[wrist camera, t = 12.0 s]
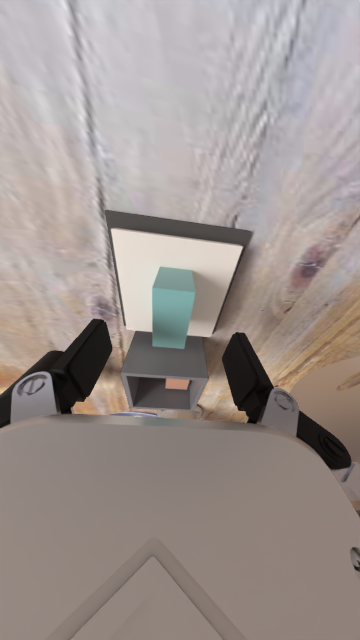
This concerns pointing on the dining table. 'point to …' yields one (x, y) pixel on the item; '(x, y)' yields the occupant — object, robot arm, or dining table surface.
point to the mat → (174, 229)
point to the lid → (172, 283)
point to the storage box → (164, 374)
